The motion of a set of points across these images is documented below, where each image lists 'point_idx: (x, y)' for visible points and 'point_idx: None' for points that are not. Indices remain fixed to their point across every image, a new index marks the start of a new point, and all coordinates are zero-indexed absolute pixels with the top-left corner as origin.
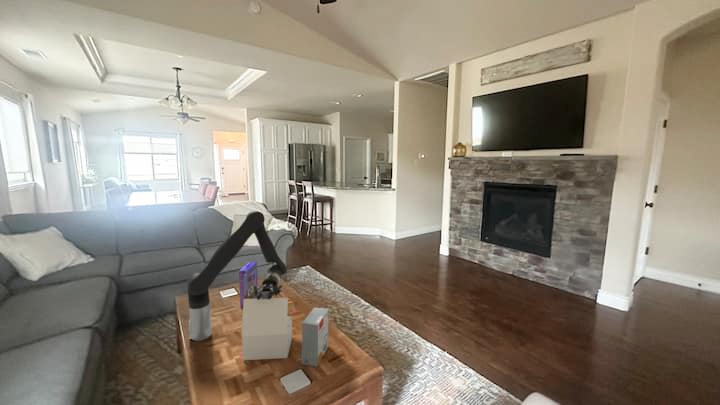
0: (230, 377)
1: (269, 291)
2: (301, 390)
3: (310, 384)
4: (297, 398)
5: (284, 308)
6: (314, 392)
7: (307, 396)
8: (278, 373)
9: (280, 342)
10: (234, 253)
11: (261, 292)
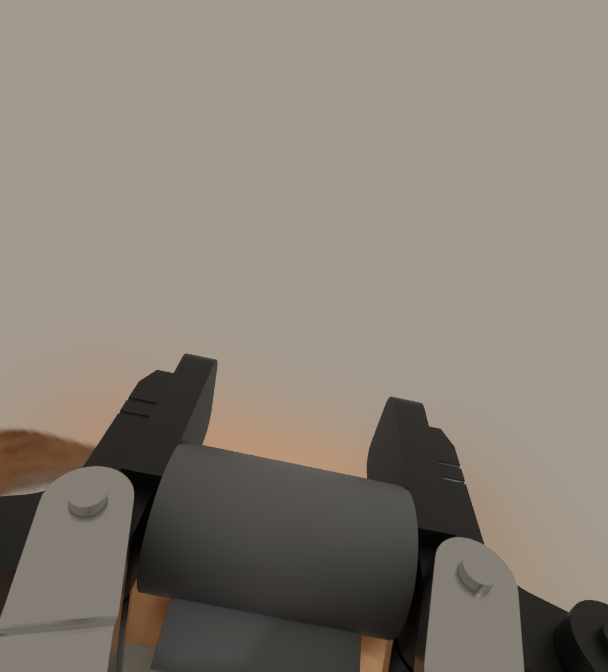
0: (386, 644)
1: (172, 470)
2: (61, 472)
3: (5, 490)
4: (92, 446)
5: None
6: (14, 450)
7: (52, 443)
8: (131, 605)
9: None
10: None
11: (385, 490)
